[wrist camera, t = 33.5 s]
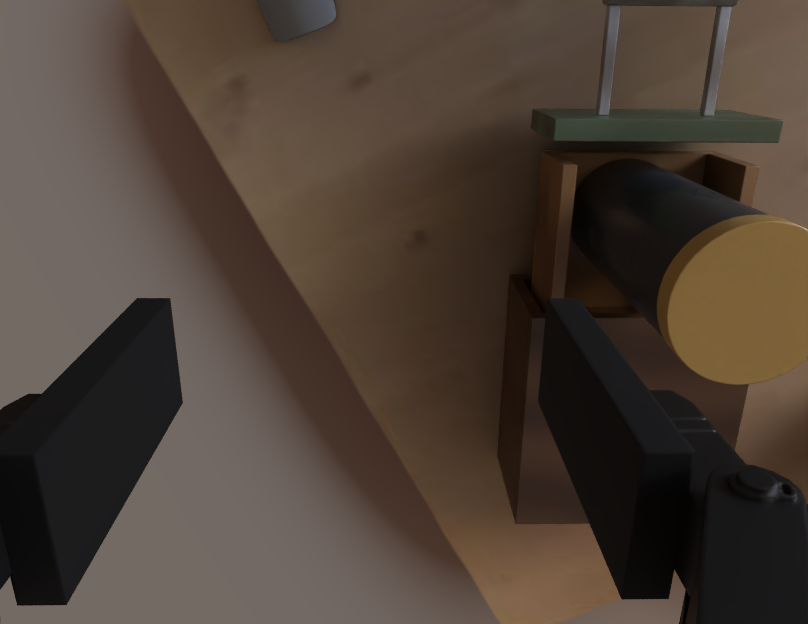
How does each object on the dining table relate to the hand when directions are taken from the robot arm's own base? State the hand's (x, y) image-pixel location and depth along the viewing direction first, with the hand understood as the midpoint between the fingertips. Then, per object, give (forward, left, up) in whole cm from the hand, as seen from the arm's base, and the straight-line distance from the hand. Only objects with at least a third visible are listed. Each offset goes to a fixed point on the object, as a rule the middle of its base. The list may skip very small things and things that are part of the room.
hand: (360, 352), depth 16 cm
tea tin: (+9, +13, -28) cm, 32 cm away
